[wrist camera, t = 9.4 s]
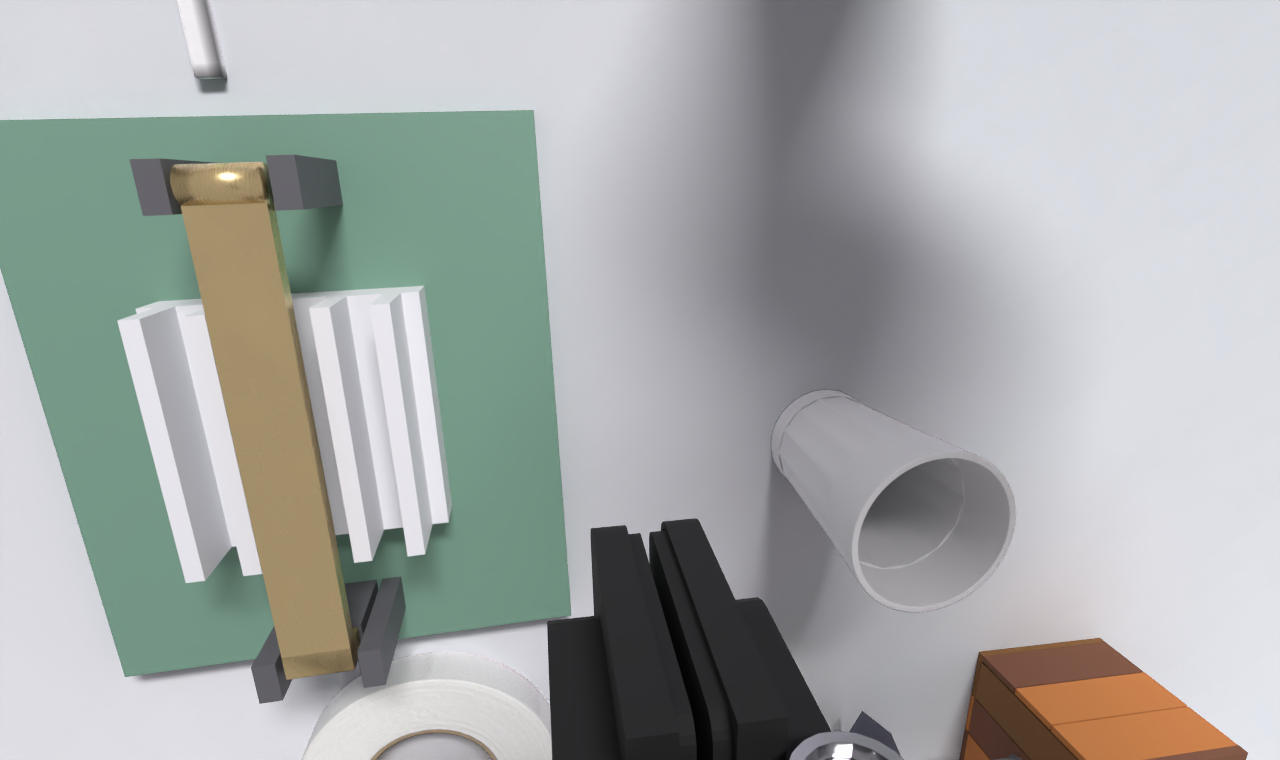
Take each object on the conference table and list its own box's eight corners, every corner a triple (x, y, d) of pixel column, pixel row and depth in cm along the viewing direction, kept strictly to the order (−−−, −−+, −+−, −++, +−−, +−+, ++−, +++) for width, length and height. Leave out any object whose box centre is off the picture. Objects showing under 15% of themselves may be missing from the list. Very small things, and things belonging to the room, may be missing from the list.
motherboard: (-18, 124, 29) (-193, 104, 22) (532, 113, 33) (537, 93, 26) (139, 658, 37) (49, 772, 30) (569, 600, 41) (580, 689, 34)
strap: (191, 165, 26) (165, 163, 24) (273, 162, 27) (255, 161, 25) (297, 656, 33) (283, 685, 31) (361, 647, 33) (352, 675, 31)
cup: (782, 518, 42) (880, 640, 31) (739, 411, 40) (829, 502, 28) (894, 464, 43) (1031, 565, 31) (859, 354, 40) (994, 421, 29)
